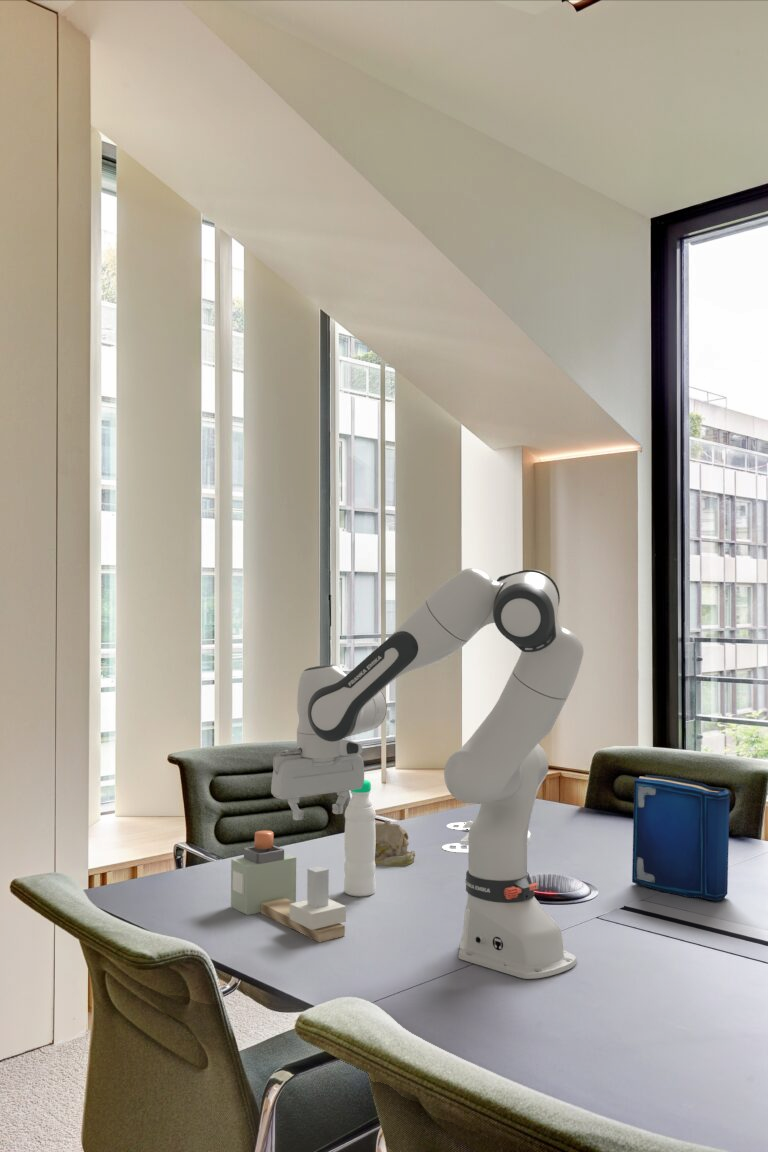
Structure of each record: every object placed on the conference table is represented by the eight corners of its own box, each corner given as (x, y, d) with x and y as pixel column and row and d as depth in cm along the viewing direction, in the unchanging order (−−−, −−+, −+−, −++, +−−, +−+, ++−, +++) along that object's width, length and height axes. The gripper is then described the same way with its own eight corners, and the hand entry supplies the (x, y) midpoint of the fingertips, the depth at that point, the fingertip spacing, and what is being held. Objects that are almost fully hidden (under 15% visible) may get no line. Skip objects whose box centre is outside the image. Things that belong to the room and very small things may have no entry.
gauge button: (276, 847, 203) (276, 833, 203) (260, 850, 201) (260, 835, 201) (267, 843, 206) (267, 829, 207) (251, 846, 204) (251, 832, 204)
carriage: (345, 921, 186) (346, 870, 186) (311, 929, 181) (312, 877, 181) (323, 911, 192) (323, 861, 193) (289, 919, 187) (290, 868, 188)
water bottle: (371, 898, 209) (372, 784, 209) (340, 896, 210) (341, 783, 211) (378, 889, 215) (378, 778, 216) (348, 887, 217) (348, 777, 218)
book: (734, 898, 210) (733, 785, 211) (721, 905, 205) (720, 789, 206) (644, 879, 225) (644, 773, 225) (630, 885, 219) (629, 777, 220)
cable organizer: (447, 824, 283) (447, 812, 283) (528, 826, 281) (528, 815, 281) (441, 854, 249) (441, 841, 249) (533, 857, 246) (533, 844, 246)
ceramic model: (354, 863, 238) (354, 823, 238) (369, 852, 249) (370, 814, 249) (407, 868, 233) (407, 827, 234) (420, 857, 244) (420, 818, 244)
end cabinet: (295, 904, 204) (296, 848, 205) (245, 915, 197) (245, 857, 197) (279, 896, 210) (279, 841, 210) (229, 906, 202) (229, 850, 203)
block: (344, 935, 184) (344, 925, 185) (318, 942, 181) (319, 931, 181) (285, 907, 202) (285, 897, 202) (260, 912, 198) (260, 903, 198)
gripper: (282, 753, 179) (281, 826, 179) (368, 744, 192) (368, 812, 191) (265, 749, 184) (264, 820, 184) (350, 740, 197) (350, 807, 196)
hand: (318, 816), depth 187 cm, fingers open, 8 cm apart
